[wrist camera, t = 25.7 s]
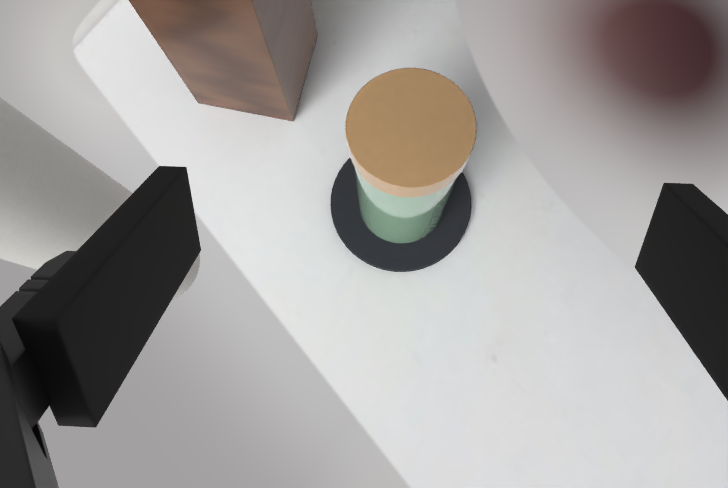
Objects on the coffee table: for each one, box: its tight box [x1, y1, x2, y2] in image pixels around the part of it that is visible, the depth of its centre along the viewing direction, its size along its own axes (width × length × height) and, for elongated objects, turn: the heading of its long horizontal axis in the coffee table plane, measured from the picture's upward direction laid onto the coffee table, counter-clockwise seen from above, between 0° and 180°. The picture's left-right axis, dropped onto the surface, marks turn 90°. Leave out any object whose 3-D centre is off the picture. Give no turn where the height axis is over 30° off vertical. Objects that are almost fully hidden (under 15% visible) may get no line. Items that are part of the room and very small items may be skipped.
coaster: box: [331, 158, 471, 272], centre depth 37 cm, size 10×10×1 cm
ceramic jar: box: [346, 68, 476, 243], centre depth 31 cm, size 6×6×12 cm
